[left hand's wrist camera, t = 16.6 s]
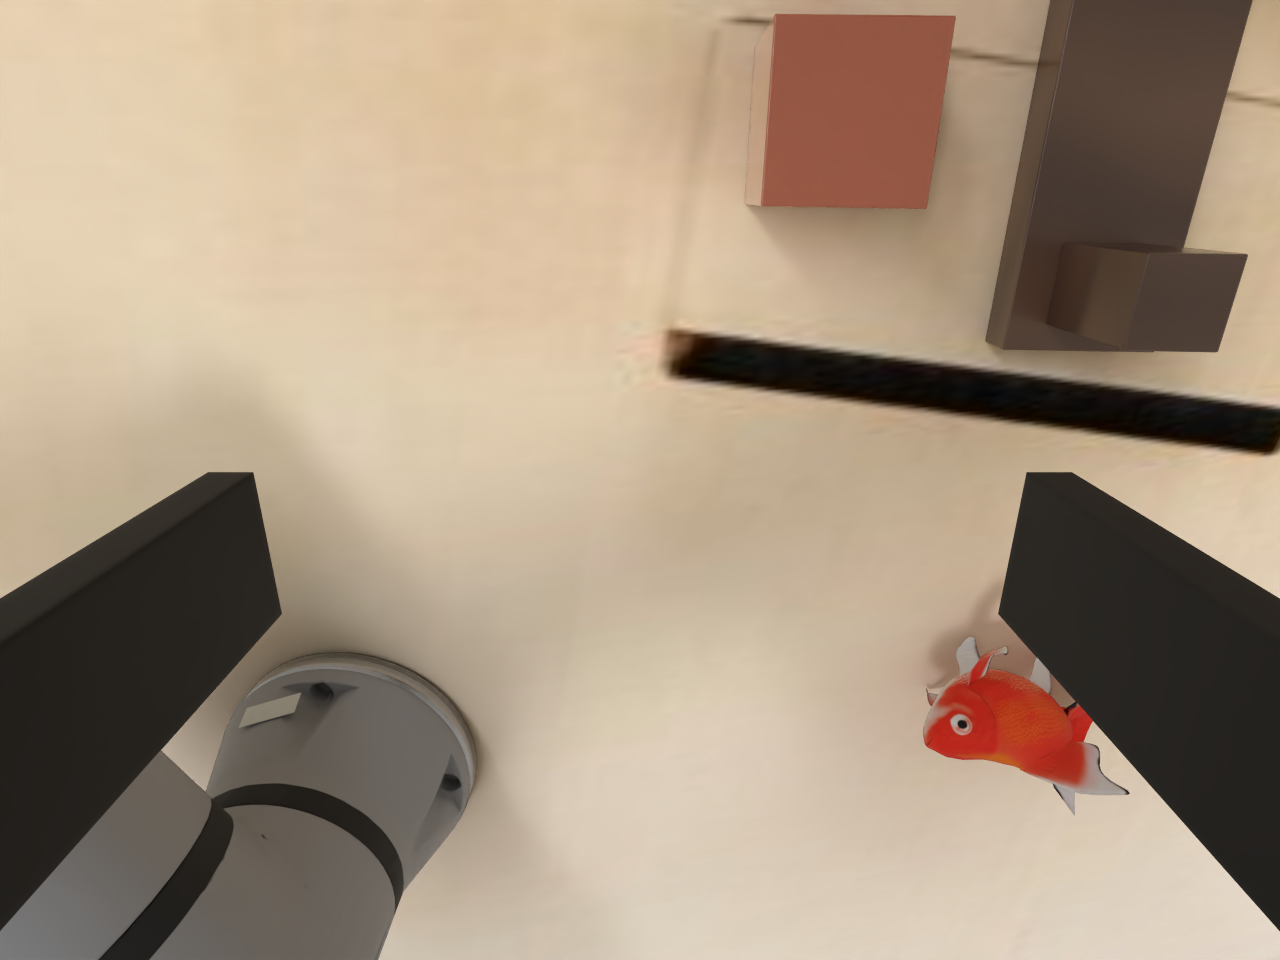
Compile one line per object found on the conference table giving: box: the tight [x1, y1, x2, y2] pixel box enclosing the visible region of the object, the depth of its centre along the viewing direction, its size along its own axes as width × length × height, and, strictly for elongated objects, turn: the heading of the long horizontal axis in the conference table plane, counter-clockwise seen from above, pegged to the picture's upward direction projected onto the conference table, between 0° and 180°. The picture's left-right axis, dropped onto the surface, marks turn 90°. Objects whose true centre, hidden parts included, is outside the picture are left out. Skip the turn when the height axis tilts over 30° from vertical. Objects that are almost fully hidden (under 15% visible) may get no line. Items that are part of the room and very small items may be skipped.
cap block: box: [745, 14, 956, 209], centre depth 29 cm, size 6×6×6 cm
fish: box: [923, 637, 1130, 815], centre depth 38 cm, size 11×16×10 cm
